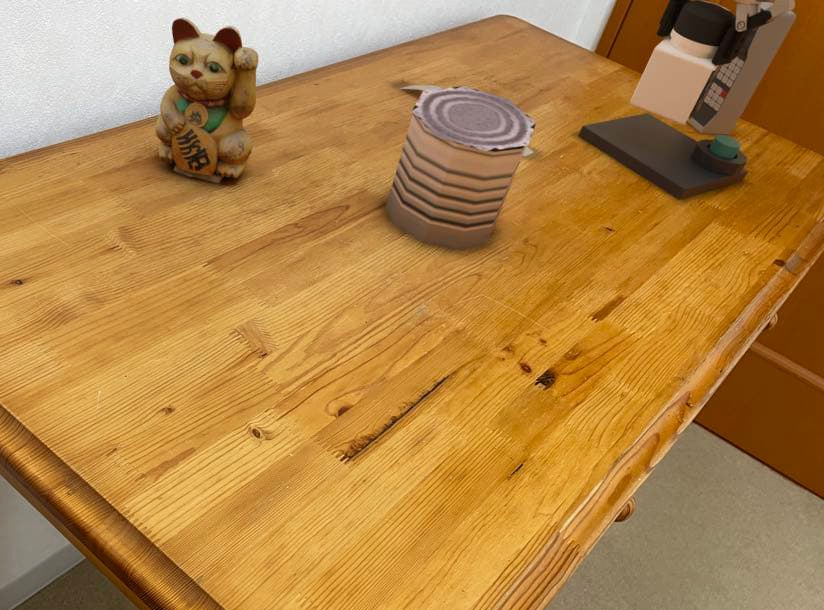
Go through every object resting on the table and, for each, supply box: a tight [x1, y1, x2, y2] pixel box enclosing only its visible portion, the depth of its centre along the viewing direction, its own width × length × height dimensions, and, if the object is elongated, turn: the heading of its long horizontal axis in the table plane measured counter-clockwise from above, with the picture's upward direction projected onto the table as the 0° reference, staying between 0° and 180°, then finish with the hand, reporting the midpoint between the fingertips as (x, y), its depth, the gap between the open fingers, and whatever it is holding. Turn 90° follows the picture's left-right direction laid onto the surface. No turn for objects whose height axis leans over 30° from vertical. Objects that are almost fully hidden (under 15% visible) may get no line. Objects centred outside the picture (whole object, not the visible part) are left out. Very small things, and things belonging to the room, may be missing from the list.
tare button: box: [708, 134, 742, 159], centre depth 105 cm, size 3×3×2 cm
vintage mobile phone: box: [688, 2, 797, 136], centre depth 110 cm, size 4×5×25 cm
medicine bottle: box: [629, 0, 736, 126], centre depth 100 cm, size 7×7×12 cm
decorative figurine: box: [155, 17, 259, 184], centre depth 82 cm, size 10×8×15 cm
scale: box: [577, 112, 749, 201], centre depth 107 cm, size 16×14×4 cm
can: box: [385, 85, 537, 251], centre depth 83 cm, size 11×11×12 cm
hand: (692, 48), depth 99 cm, fingers closed on medicine bottle, 7 cm apart
